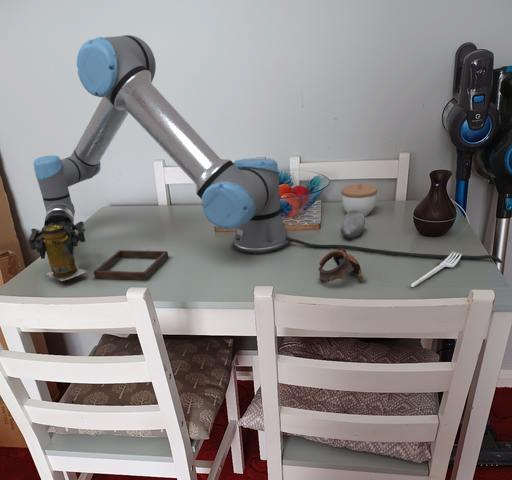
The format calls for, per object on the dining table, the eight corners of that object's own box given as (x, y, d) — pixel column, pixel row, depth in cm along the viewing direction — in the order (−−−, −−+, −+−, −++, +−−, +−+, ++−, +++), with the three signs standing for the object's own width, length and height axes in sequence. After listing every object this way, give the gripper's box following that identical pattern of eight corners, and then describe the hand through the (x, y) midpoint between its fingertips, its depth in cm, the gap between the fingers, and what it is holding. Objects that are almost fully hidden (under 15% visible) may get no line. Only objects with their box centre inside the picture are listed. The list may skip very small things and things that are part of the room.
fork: (405, 286, 118) (406, 278, 117) (450, 258, 129) (451, 250, 128) (418, 290, 116) (419, 282, 115) (462, 261, 127) (463, 253, 126)
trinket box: (335, 212, 166) (335, 182, 161) (366, 206, 168) (367, 177, 164) (350, 221, 157) (351, 190, 152) (382, 216, 160) (384, 185, 155)
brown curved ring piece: (367, 289, 119) (352, 264, 114) (330, 304, 123) (313, 281, 118) (363, 256, 127) (348, 232, 122) (328, 272, 131) (312, 249, 126)
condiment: (70, 264, 140) (58, 221, 133) (87, 272, 134) (75, 227, 128) (45, 274, 135) (31, 229, 129) (61, 282, 130) (48, 236, 124)
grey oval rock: (334, 234, 141) (342, 204, 140) (341, 235, 154) (348, 208, 153) (357, 239, 140) (366, 209, 138) (362, 241, 153) (370, 213, 151)
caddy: (168, 257, 144) (167, 251, 143) (146, 280, 132) (145, 273, 131) (120, 256, 147) (119, 250, 146) (95, 278, 135) (93, 271, 134)
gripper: (97, 230, 149) (99, 258, 130) (27, 241, 146) (19, 272, 126) (91, 204, 146) (92, 229, 126) (19, 214, 142) (9, 242, 123)
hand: (55, 251), depth 126 cm, fingers closed on condiment, 6 cm apart
